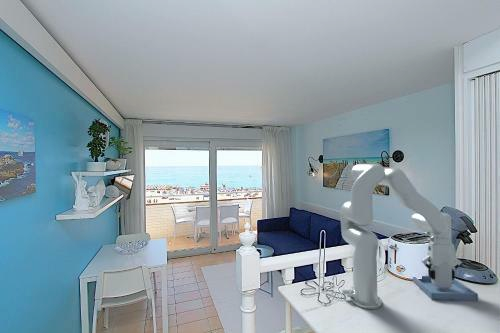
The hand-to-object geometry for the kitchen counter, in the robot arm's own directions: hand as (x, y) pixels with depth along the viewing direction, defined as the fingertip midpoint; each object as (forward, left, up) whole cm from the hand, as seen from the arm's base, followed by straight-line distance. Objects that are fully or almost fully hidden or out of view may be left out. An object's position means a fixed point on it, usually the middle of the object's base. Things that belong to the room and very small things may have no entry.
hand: (441, 277), depth 110 cm
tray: (0, 0, -6) cm, 6 cm away
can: (0, 0, -4) cm, 4 cm away
